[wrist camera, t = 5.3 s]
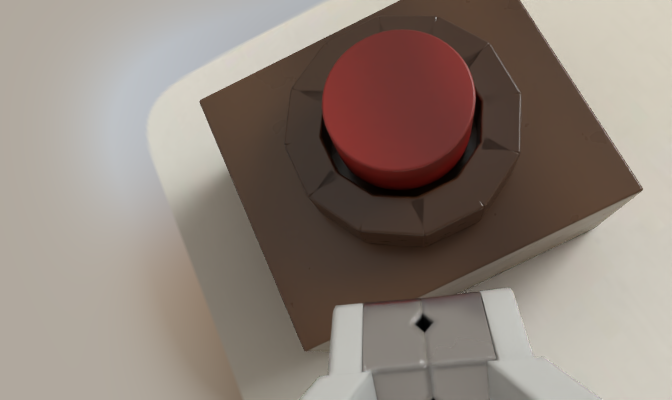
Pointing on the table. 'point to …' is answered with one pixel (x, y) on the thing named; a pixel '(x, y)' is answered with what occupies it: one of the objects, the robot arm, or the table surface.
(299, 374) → the table surface
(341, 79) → the button
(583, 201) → the brown push button box
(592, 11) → the table surface
